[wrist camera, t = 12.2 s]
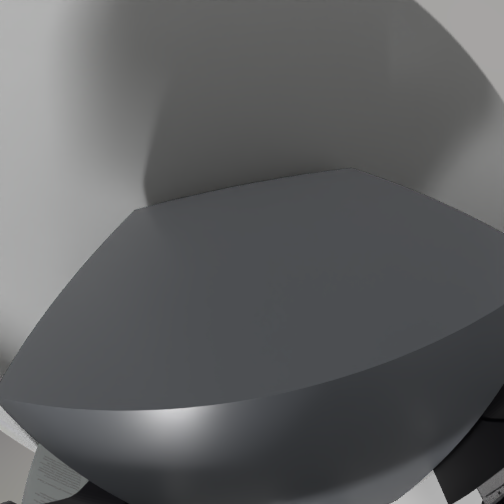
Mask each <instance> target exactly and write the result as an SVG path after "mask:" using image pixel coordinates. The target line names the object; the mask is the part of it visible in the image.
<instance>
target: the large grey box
mask: <svg viewBox="0 0 504 504" xmlns="http://www.w3.org/2000/svg"><path fill="white" fill-rule="evenodd" d="M503 384H504V233H502V232H500V231H498V230H496V229H495V228H493V227H491V226H489V225H487V224H485V223H483V222H481V221H479V220H478V219H476V218H474V217H472V216H470V215H468V214H465V213H463V212H461V211H459V210H457V209H455V208H453V207H451V206H449V205H446V204H444V203H442V202H440V201H437V200H435V199H433V198H431V197H428V196H426V195H423V194H421V193H419V192H416V191H414V190H411V189H409V188H406V187H404V186H401V185H399V184H396V183H393V182H391V181H388V180H385V179H383V178H380V177H377V176H374V175H371V174H368V173H366V172H363V171H360V170H357V169H354V168H346V169H338V170H331V171H324V172H317V173H310V174H303V175H297V176H291V177H285V178H279V179H273V180H267V181H262V182H256V183H251V184H246V185H241V186H235V187H230V188H226V189H221V190H216V191H211V192H207V193H202V194H198V195H193V196H189V197H185V198H180V199H176V200H172V201H168V202H164V203H160V204H156V205H152V206H148V207H144V208H141V209H137V210H134V211H133V212H132V213H131V214H130V215H129V216H128V217H127V218H126V219H125V220H124V221H123V222H122V223H121V225H120V226H119V227H118V228H117V229H116V230H115V231H114V232H113V233H112V234H111V235H110V236H109V237H108V238H107V239H106V240H105V241H104V243H103V244H102V245H101V246H100V247H99V248H98V249H97V250H96V251H95V252H94V254H93V255H92V256H91V257H90V258H89V259H88V260H87V261H86V263H85V264H84V265H83V266H82V267H81V268H80V270H79V271H78V272H77V273H76V274H75V276H74V277H73V278H72V279H71V280H70V282H69V283H68V284H67V285H66V287H65V288H64V289H63V290H62V292H61V293H60V294H59V295H58V297H57V298H56V299H55V301H54V302H53V303H52V304H51V306H50V307H49V308H48V310H47V311H46V312H45V314H44V315H43V317H42V318H41V319H40V321H39V322H38V323H37V325H36V326H35V328H34V329H33V331H32V332H31V333H30V335H29V336H28V338H27V339H26V341H25V342H24V344H23V345H22V347H21V348H20V350H19V352H18V353H17V355H16V356H15V358H14V359H13V361H12V363H11V364H10V366H9V368H8V369H7V371H6V373H5V374H4V376H3V378H2V380H1V381H0V405H1V407H2V408H3V409H4V410H5V411H6V412H7V413H8V414H9V415H10V416H11V417H12V418H13V419H14V420H15V421H16V422H17V423H18V424H19V425H20V426H21V427H22V428H23V429H24V430H25V431H26V432H27V433H28V434H30V435H31V436H32V437H33V438H34V439H35V440H36V441H37V442H38V443H40V444H41V445H42V446H43V447H44V448H46V449H47V450H48V451H49V452H50V453H52V454H53V455H54V456H55V457H57V458H58V459H59V460H61V461H62V462H63V463H65V464H66V465H67V466H69V467H70V468H71V469H73V470H74V471H76V472H77V473H79V474H80V475H82V476H83V477H85V478H86V479H88V480H89V481H91V482H92V483H94V484H95V485H97V486H99V487H100V488H102V489H104V490H105V491H107V492H109V493H111V494H112V495H114V496H116V497H118V498H119V499H121V500H123V501H125V502H127V503H129V504H389V503H392V502H394V501H396V500H398V499H399V498H400V497H401V496H403V495H404V494H405V493H406V492H408V491H409V490H410V489H411V488H413V487H414V486H415V485H416V484H417V483H418V482H420V481H421V480H422V479H423V478H424V477H425V476H426V475H427V474H428V473H430V472H431V471H432V470H433V469H434V468H435V467H436V466H437V465H438V464H439V463H440V462H441V461H442V460H443V459H444V458H445V457H446V456H447V455H448V454H449V453H450V452H451V451H452V450H453V449H454V447H455V446H456V445H457V444H458V443H459V442H460V441H461V440H462V439H463V437H464V436H465V435H466V434H467V433H468V432H469V430H470V429H471V428H472V427H473V426H474V424H475V423H476V422H477V421H478V419H479V418H480V417H481V415H482V414H483V413H484V411H485V410H486V409H487V407H488V406H489V405H490V403H491V402H492V400H493V399H494V397H495V396H496V395H497V393H498V392H499V390H500V389H501V387H502V385H503Z"/></svg>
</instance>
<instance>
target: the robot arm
mask: <svg viewBox="0 0 504 504" xmlns="http://www.w3.org/2000/svg"><path fill="white" fill-rule="evenodd" d="M433 471H434V473H435V475H436V477H437V479H438V482H439V484H440V486H441V488H442V491H443V493H444V495H445V498H446V500H447V502H448V504H453V503H454V502H456V501H458V500H460V499H461V498H463V497H464V496H466V495H468V494H469V493H470V492H472V491H474V490H475V489H476V488H477V489H478V491H479V493H480V495H481V497H482V499H483V501H482V504H504V384H503V385H502V387H501V389H500V390H499V392H498V393H497V395H496V396H495V397H494V399H493V400H492V402H491V403H490V405H489V406H488V407H487V409H486V410H485V411H484V413H483V414H482V415H481V417H480V418H479V419H478V421H477V422H476V423H475V424H474V426H473V427H472V428H471V429H470V430H469V432H468V433H467V434H466V435H465V436H464V437H463V439H462V440H461V441H460V442H459V443H458V444H457V445H456V446H455V447H454V449H453V450H452V451H451V452H450V453H449V454H448V455H447V456H446V457H445V458H444V459H443V460H442V461H441V462H440V463H439V464H438V465H437V466H436V467H435V468H434V469H433ZM1 504H16V503H14V502H12V501H7V502H3V503H1ZM44 504H129V503H127V502H125V501H123V500H121V499H119V498H118V497H116V496H114V495H112V494H111V493H109V492H107V491H105V490H104V489H102V488H100V487H99V486H97V485H95V484H94V483H92V482H91V481H88V482H87V483H86V484H85V485H84V486H83V487H82V488H81V489H80V490H79V491H78V492H77V493H76V494H74V495H72V496H71V497H68V498H65V499H61V500H57V501H53V502H49V503H44Z"/></svg>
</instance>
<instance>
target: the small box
mask: <svg viewBox="0 0 504 504" xmlns="http://www.w3.org/2000/svg"><path fill="white" fill-rule="evenodd" d="M88 481H89V480H88V479H86V478H85V477H83V476H82V475H80V474H79V473H77V472H76V471H74V470H73V469H71V468H70V467H69V466H67V465H66V464H65V463H63V462H62V461H61V460H59V459H58V458H57V457H55V456H54V455H53V454H52V453H50V452H49V451H48V450H47V449H46V448H44V447H43V446H42V445H41V444H40V443H39V444H38V447H37V450H36V453H35V456H34V459H33V462H32V465H31V468H30V472H29V475H28V478H27V482H26V486H25V491H24V495H23V499H22V504H44V503H49V502H53V501H57V500H61V499H65V498H68V497H71V496H72V495H74V494H76V493H77V492H78V491H79V490H80V489H81V488H82V487H83V486H84V485H85V484H86V483H87V482H88Z"/></svg>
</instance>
